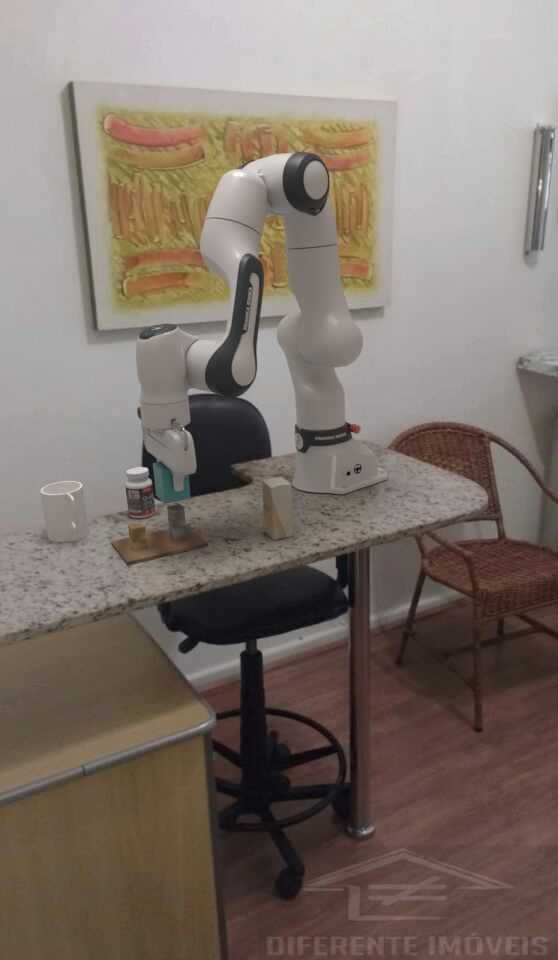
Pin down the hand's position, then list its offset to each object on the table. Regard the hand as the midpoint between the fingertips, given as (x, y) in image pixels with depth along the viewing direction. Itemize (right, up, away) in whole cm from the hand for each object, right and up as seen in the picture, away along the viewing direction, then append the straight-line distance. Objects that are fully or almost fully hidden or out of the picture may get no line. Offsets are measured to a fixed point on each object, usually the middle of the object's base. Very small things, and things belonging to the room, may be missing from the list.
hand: (172, 485), depth 143 cm
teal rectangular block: (0, -2, +1) cm, 2 cm away
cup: (-22, -11, +9) cm, 26 cm away
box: (+20, -10, +5) cm, 23 cm away
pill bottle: (-9, -7, +19) cm, 22 cm away
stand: (-3, -12, +2) cm, 12 cm away
